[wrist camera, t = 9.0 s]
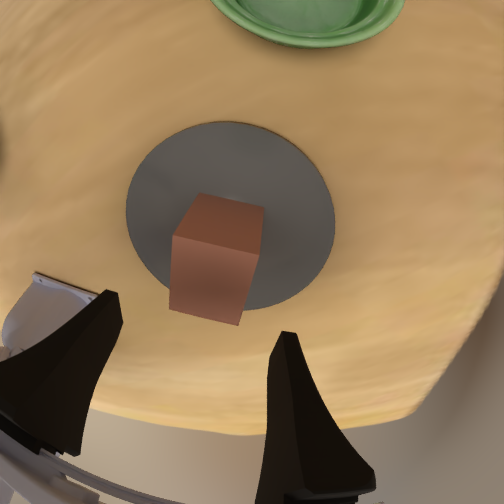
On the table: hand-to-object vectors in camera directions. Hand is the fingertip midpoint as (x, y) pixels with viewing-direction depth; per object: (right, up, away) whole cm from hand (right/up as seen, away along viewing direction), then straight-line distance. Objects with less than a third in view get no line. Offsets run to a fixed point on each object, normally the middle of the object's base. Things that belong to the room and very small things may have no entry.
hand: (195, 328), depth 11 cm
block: (+1, +4, +6) cm, 8 cm away
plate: (+1, +5, +7) cm, 9 cm away
